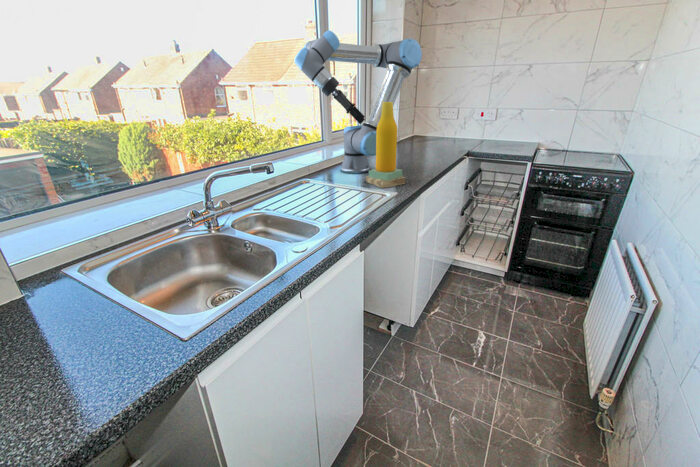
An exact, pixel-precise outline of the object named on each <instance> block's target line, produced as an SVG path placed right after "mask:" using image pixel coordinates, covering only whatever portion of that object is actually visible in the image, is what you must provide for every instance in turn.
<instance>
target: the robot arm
mask: <svg viewBox="0 0 700 467" xmlns="http://www.w3.org/2000/svg"><path fill="white" fill-rule="evenodd" d="M422 52H423V51H422V47H421V45H420V43H419V42H418V41H417V40H416V39H414V38H404V39H402V40H398V41H392V42H388V43H383V44H382V43H381V44H380V43H379V44H378V43H376V44H373V45H364V44H355V43H354V44H353V43H343V42H340V40H339V37H338V36H337V34H335V33H334V32H333V30H330V29H329V30H326V31H325V32H324V33H323V34H322V35H321V36H320V37H319V38H316V39H313V40H309V41H308V42H306V43H305V44H304V46H303V47H302V48H301V49H300V50H299V51H298V52H297V53H296V54H295V57H294V59H293V60H294V61H293V62H294V63H295V65H296V66H297V67H298V69H299V70H300V71H301V72H302V73H303V74H304V75H305V76H306V77H307V78H308V79H309V80H310V81H311V82H312V83H313V85H314V87H317V88H318V89H319V90H321V92H322V93H323V94H324V95H325V96H326V97H329V96H330V95H332V97H333V99H334V100H335V101H337V102H338V103H339V104H340V105H341V106H342V107H343V108H344V110H345V111H346V112H345V113H346V114H348V115H349V114H350V116H352V118H353V119H354V120H355V121H356V122H357V123H358V124H359V125H349V126H345V127H344V129H343V150H344V151H343V152H344V153H343V154H344V157H343V160H342V163H341V167H340V168H341V172H343V173H345V174H351V175H352V174H353V175H355V174H364V173H369V170H371V167H370V163H369V159H368V157H376V130H377V125H378V123H379V121H380V118H381V113H382V105H383V102H393V106H394V105H395V103H396V101H397V98H398V96H399V93H400V91H401V88H402V86H403V83H404V81H405V79H407V78H409V77H410V76H411V74H412V71H413V69H414V68H416V67H418V65H420V63H421V61H422V57H423V56H422V55H423V53H422ZM326 62H339V63H354V64H366V65H372V67H374V68H375V67H376V68H383V69H386V70H387V71H386V75H385V77H384V79H383V81H382V84H381V87H380V89H379V92H378V94H377V97H376V99H375V102H374V103H373V106H372V110H371V111H370V114H369V117H368V119H367V120H366V119H365V118H366V115H364V114H363V113H362V112H361V111H360V110H359V108H357V107H356V103H353V102H352V101H350V100H349V99H348V97H347V96H346V94H344V92H343V91H342V90H341V89H338V88H337V87H338V86H339V85H340V82H339V81H338V80H337V79H336V77H335V76H333V74H332V73H331V72H330V70H328V69H327V68H326V67H325V66H324V64H325V63H326ZM365 120H366V121H365ZM361 124H362V125H361Z"/></svg>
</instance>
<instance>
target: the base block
mask: <svg viewBox="0 0 700 467" xmlns="http://www.w3.org/2000/svg"><path fill="white" fill-rule="evenodd" d="M365 182H366V183H368V184H371V185H372V186H376V187H378V188H380V189H386V188H391V187H396V186H402V185H405V184H406V177H405V176H403V175H402V176H401V177H398V178H395V179H392V180H389V181H386V180H381V179H377V178H372V177H369V174H368V175H365Z"/></svg>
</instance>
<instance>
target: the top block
mask: <svg viewBox="0 0 700 467" xmlns="http://www.w3.org/2000/svg"><path fill="white" fill-rule="evenodd" d="M368 175H369V177H372V178H377V179H381V180H386V181H389V180H392V179H395V178H398V177H401V176H402V177H403V169H402V168H401V169H400V168H396V169H395V171H393V172H379V171H377V170H376V168H372V169H370V170H369V171H368Z"/></svg>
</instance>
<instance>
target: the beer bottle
mask: <svg viewBox="0 0 700 467" xmlns="http://www.w3.org/2000/svg"><path fill="white" fill-rule="evenodd" d="M394 116H395V115H394V105H393V102H383V105H382V113H381V118H380V121H379V123H378V125H377V130H376V155H375V169H376V170H377V171H379V172H393V171H395V169H397V147H398V125H397V121H396V120H395V117H394Z"/></svg>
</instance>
